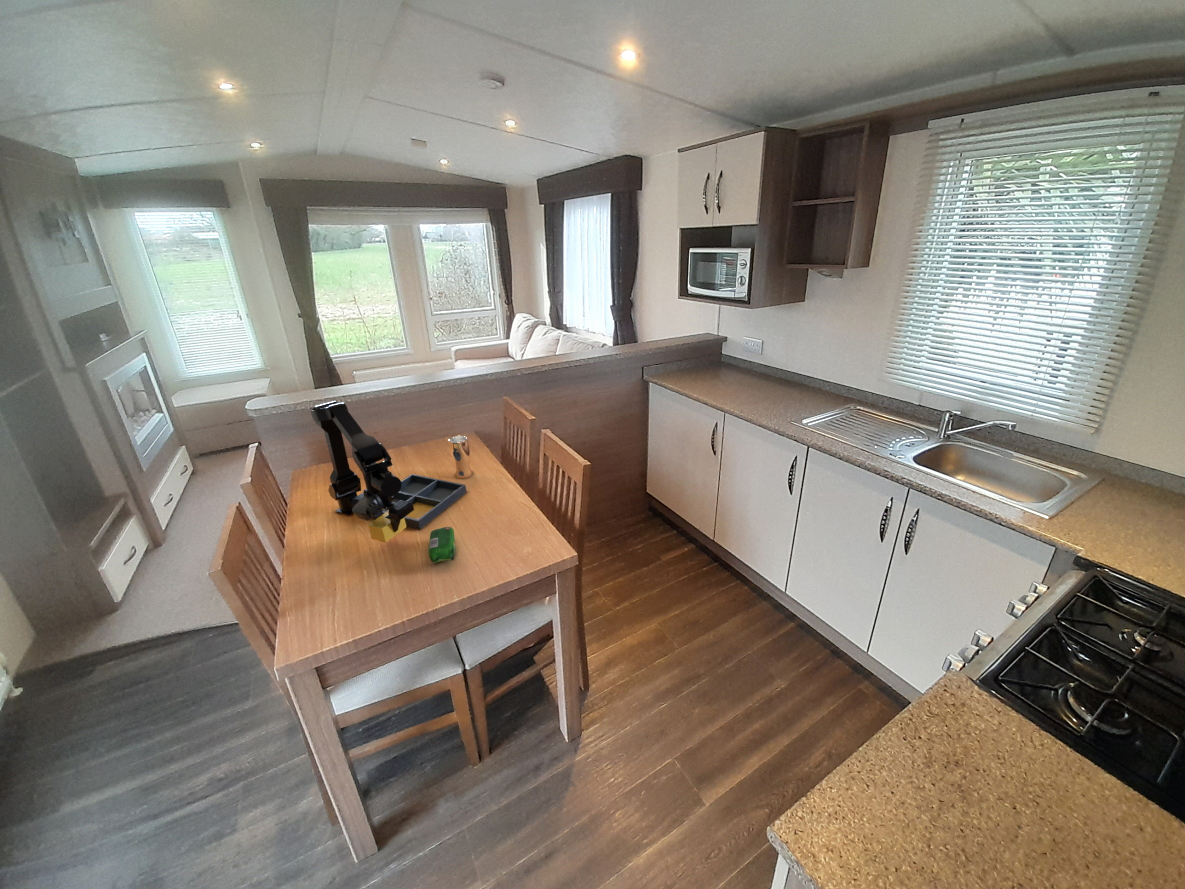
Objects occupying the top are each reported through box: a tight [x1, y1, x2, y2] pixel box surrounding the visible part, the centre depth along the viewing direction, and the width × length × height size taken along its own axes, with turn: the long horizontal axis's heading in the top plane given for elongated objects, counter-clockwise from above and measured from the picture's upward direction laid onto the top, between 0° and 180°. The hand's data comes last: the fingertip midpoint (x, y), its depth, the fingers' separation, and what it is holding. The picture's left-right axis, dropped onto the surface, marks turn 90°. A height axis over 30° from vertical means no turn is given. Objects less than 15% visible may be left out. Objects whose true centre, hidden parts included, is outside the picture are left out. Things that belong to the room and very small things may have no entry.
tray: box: [383, 473, 468, 530], centre depth 164 cm, size 24×24×3 cm
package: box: [367, 510, 407, 544], centre depth 142 cm, size 6×8×5 cm, turn 157°
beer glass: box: [448, 435, 473, 479], centre depth 180 cm, size 7×7×15 cm
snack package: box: [428, 526, 456, 564], centre depth 138 cm, size 7×16×5 cm, turn 15°
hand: (388, 529), depth 142 cm, fingers closed on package, 5 cm apart
